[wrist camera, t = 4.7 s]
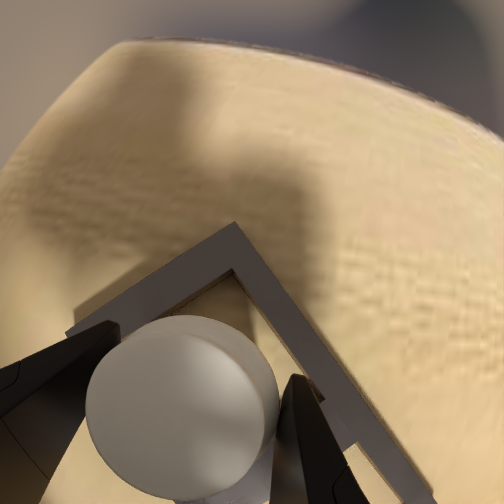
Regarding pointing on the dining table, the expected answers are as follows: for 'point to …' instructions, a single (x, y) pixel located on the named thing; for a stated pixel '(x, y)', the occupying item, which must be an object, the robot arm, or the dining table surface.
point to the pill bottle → (182, 407)
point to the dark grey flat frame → (292, 338)
